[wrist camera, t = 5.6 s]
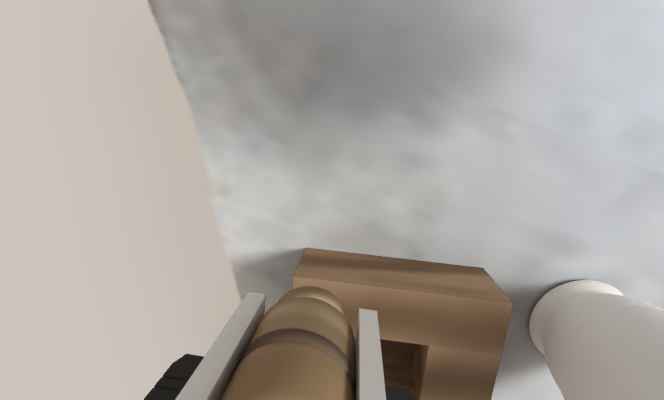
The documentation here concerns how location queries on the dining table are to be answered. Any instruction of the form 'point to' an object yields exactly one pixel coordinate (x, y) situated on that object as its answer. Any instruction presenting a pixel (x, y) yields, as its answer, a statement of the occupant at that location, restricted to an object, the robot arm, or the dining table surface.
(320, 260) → the wooden block with hole
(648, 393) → the jar
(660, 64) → the dining table surface
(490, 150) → the dining table surface
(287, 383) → the peg
